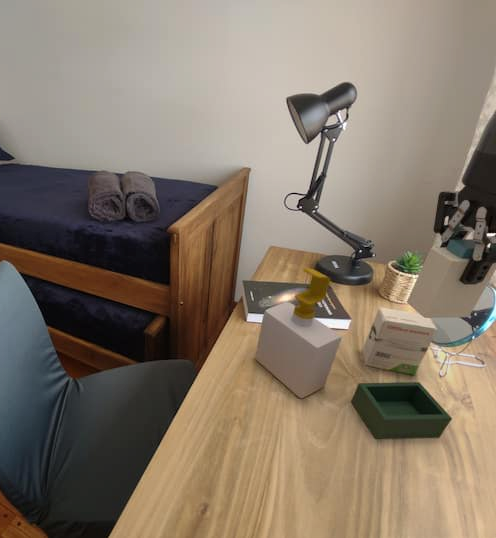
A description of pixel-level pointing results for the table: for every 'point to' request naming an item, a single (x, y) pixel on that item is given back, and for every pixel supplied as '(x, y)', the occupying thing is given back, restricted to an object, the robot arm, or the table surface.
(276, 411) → the table surface
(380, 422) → the holder
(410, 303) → the beige teal-capped bottle
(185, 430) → the table surface
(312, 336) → the soap bottle
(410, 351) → the ink box
